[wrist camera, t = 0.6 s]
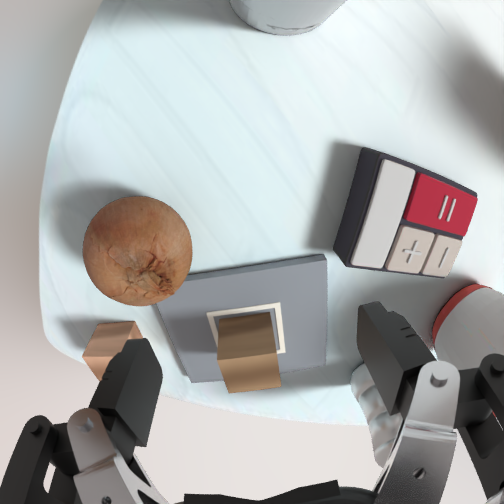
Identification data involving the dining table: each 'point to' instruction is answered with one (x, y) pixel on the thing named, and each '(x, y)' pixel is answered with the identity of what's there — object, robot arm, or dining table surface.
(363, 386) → the plastic bottle
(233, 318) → the walnut block
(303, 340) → the grey flat plate
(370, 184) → the calculator
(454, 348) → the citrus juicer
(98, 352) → the terracotta block
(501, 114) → the dining table surface
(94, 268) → the onion
